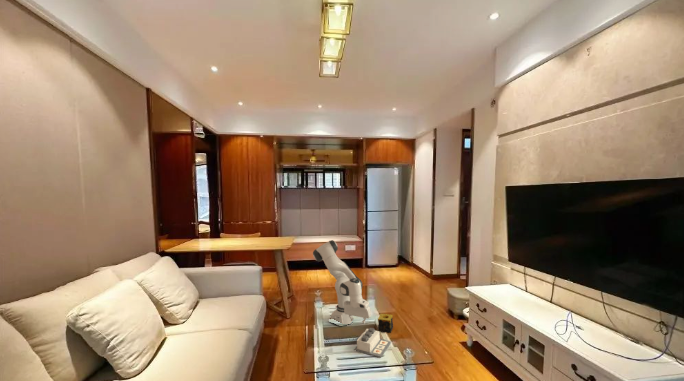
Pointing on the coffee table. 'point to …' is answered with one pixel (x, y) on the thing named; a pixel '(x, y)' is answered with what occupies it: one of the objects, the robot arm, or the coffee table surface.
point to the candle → (385, 323)
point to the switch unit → (372, 345)
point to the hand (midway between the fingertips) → (358, 322)
